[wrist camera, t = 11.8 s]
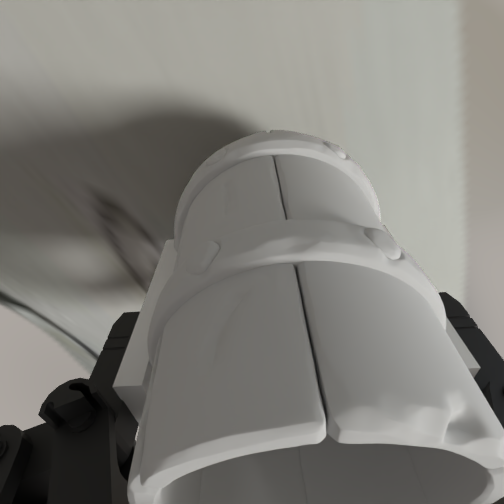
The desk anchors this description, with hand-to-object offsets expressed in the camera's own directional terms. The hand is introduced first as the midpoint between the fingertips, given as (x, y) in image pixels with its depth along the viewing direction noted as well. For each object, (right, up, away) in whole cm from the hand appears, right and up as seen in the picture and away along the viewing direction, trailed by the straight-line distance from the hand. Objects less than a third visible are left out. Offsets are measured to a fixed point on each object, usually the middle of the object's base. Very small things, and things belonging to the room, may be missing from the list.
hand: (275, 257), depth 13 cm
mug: (-1, 0, +1) cm, 1 cm away
